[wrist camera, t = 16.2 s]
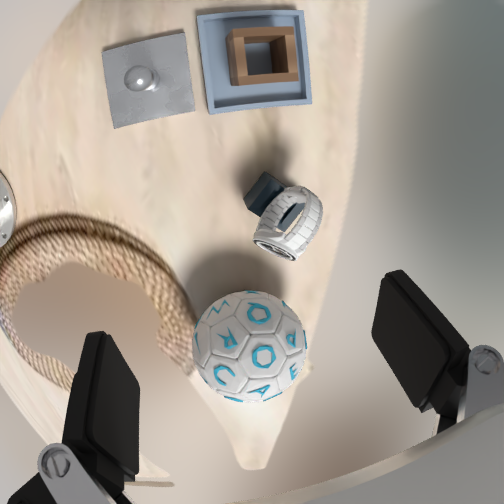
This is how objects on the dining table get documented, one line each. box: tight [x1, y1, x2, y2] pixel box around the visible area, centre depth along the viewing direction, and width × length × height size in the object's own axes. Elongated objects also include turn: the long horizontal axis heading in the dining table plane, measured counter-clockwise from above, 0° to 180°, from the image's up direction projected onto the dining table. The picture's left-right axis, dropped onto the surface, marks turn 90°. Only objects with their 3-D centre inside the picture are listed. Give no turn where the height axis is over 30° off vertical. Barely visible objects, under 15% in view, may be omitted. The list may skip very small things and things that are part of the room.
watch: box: [243, 171, 323, 261], centre depth 34 cm, size 6×8×11 cm
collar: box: [225, 26, 299, 86], centre depth 26 cm, size 6×6×6 cm
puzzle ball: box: [192, 290, 307, 402], centre depth 40 cm, size 15×15×15 cm
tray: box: [197, 10, 312, 115], centre depth 28 cm, size 11×11×2 cm
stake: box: [101, 33, 195, 129], centre depth 25 cm, size 9×9×8 cm
